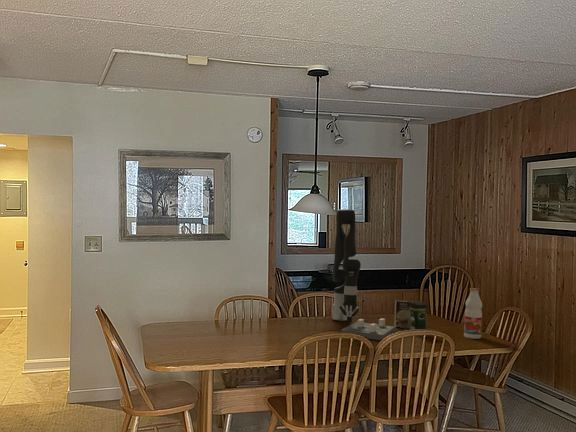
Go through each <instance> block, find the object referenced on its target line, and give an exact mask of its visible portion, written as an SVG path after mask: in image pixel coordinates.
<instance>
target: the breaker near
mask: <svg viewBox="0 0 576 432" xmlns="http://www.w3.org/2000/svg"><path fill="white" fill-rule="evenodd" d="M369 324H370V327H369V332H375V331H376V324H377V323H373V322H372V323H369Z"/></svg>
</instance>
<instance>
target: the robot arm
mask: <svg viewBox="0 0 576 432" xmlns="http://www.w3.org/2000/svg"><path fill="white" fill-rule="evenodd" d="M335 222H336V227H335V228H336V229H335V230H336V231H335V232H336V233H335V242H334V260H333V269H332V281H333V282H335V283H343V284H342V285H340V286H337V287H335V288H334V290H333V292H334V295H333V304H332V314H331V315H332V318H331V320H334V321H342V322H343V321H346V323H347V324H352V323H353V317H355V316H357V315H358V313H359V312H360V311H361V309H362V308H361V307H359V306H358V304H357V302H358V301H357V300H358V299H357V298H358V276H359V273H360V270H361V267H362V265H361V262H360V260H359V259H350V258H353V257H355V256H356V255H357V248H356V212H355V210H354V209H352V208H351V209H348V208H347V209H344V208H343V209H341V208H340V209H338V210H337V211H336V220H335ZM346 225H349V229H348V232H347V234H346V233H345V232H344V229H343V226H346ZM341 263H342V265H341ZM340 265H341V267H340ZM351 272H352V273H351Z"/></svg>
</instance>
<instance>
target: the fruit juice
mask: <svg viewBox="0 0 576 432" xmlns="http://www.w3.org/2000/svg"><path fill="white" fill-rule="evenodd" d="M479 291H480V288H478V287H477V288H476V287H470V288H469V295H468V297H467V299H466V300H465V311H464V326H463V327H464V329H463V337H465V338H467V339H474V340H477V339H478V340H480V339H481V338H482V328H483V327H482V323H483V312H482V308H483V302H482V300H481V297H480V294H479Z"/></svg>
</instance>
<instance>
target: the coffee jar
mask: <svg viewBox="0 0 576 432" xmlns="http://www.w3.org/2000/svg"><path fill="white" fill-rule="evenodd" d="M426 314H427V302H425V301H422V300H421V301H419V300H418V301H411V303H410V324H409V328H408V331H409V330H411V329H426V330H427V325H426V322H427V321H426Z"/></svg>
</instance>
